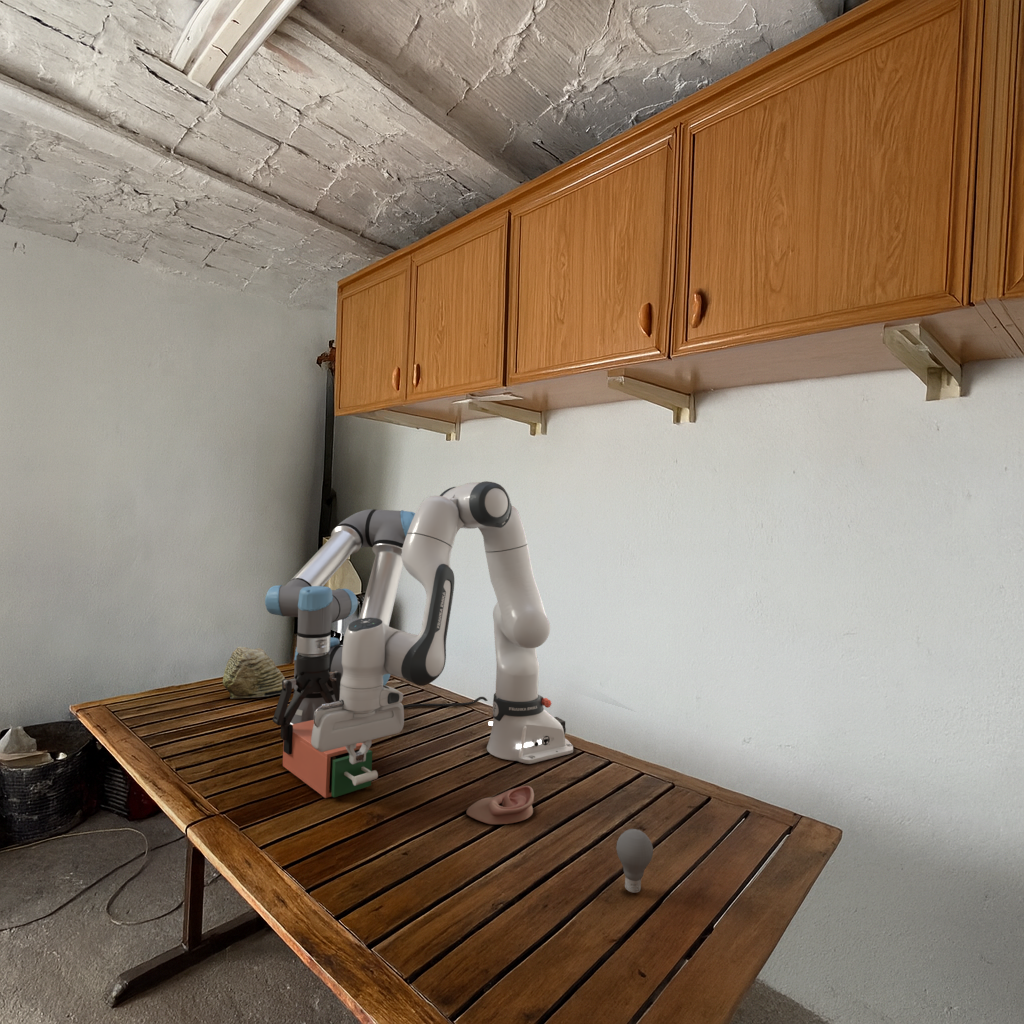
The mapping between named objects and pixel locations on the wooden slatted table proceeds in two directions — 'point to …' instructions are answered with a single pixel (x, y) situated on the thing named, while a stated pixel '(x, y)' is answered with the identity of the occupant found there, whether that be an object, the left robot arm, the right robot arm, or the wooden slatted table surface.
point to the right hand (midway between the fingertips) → (357, 762)
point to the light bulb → (634, 857)
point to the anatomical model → (504, 807)
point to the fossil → (252, 674)
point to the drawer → (350, 774)
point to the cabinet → (311, 759)
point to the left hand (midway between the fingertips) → (309, 746)
